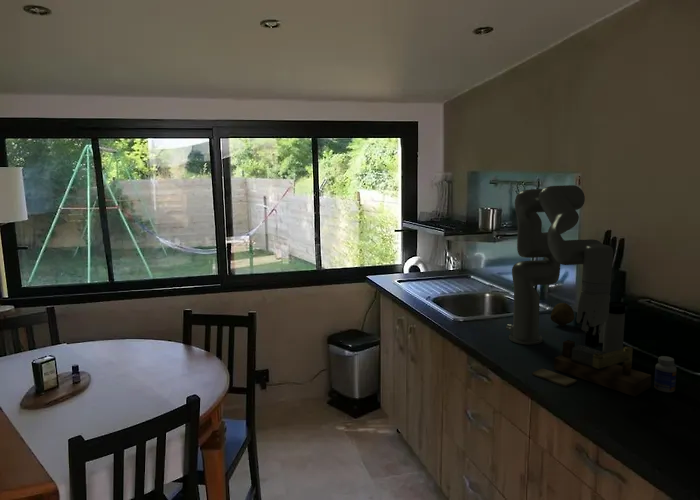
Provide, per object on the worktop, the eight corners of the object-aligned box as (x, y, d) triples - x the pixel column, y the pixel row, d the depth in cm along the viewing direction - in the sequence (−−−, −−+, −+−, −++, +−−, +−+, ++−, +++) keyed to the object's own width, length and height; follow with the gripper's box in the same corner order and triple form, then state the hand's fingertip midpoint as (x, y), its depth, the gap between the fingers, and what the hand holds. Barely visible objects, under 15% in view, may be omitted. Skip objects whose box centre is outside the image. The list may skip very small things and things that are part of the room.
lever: (625, 371, 151) (627, 344, 150) (632, 374, 149) (634, 347, 148) (590, 381, 145) (592, 354, 144) (597, 384, 143) (599, 356, 142)
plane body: (553, 369, 165) (554, 343, 163) (570, 361, 170) (571, 337, 169) (634, 396, 144) (636, 367, 142) (650, 387, 149) (652, 359, 148)
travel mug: (625, 360, 169) (629, 305, 166) (605, 360, 171) (608, 304, 168) (619, 354, 176) (623, 300, 172) (600, 353, 177) (603, 299, 174)
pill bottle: (675, 394, 144) (677, 363, 143) (653, 390, 147) (656, 360, 146) (674, 387, 149) (677, 357, 147) (653, 383, 152) (656, 353, 150)
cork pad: (531, 374, 161) (531, 372, 161) (542, 369, 164) (542, 368, 164) (565, 387, 151) (565, 385, 151) (576, 381, 155) (576, 380, 154)
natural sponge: (579, 327, 205) (580, 304, 203) (563, 330, 202) (564, 307, 200) (562, 321, 213) (563, 299, 212) (546, 324, 210) (547, 302, 208)
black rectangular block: (571, 361, 161) (571, 348, 160) (578, 357, 163) (579, 344, 163) (601, 370, 153) (602, 356, 152) (608, 366, 155) (609, 353, 155)
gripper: (596, 279, 149) (592, 336, 153) (569, 288, 141) (565, 348, 144) (622, 284, 143) (617, 343, 147) (595, 294, 135) (590, 356, 138)
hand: (591, 345), depth 146 cm, fingers closed
